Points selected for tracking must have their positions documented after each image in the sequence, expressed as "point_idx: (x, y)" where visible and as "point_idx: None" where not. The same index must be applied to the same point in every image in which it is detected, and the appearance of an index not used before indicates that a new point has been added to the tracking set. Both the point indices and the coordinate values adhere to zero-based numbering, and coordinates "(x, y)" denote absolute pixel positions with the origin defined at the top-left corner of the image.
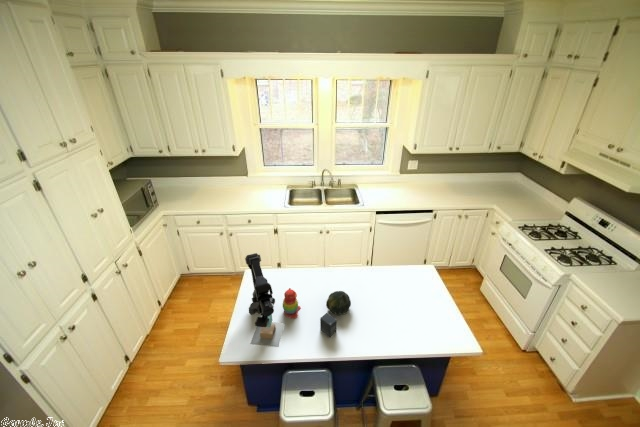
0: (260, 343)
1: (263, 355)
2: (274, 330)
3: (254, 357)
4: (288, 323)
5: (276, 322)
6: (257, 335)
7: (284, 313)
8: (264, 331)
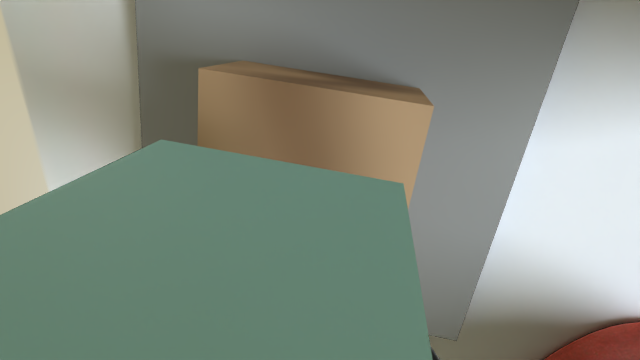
0: (160, 73)
1: (53, 123)
2: None
3: (6, 21)
4: (461, 356)
5: (488, 251)
6: (280, 6)
7: (626, 349)
8: (236, 149)
